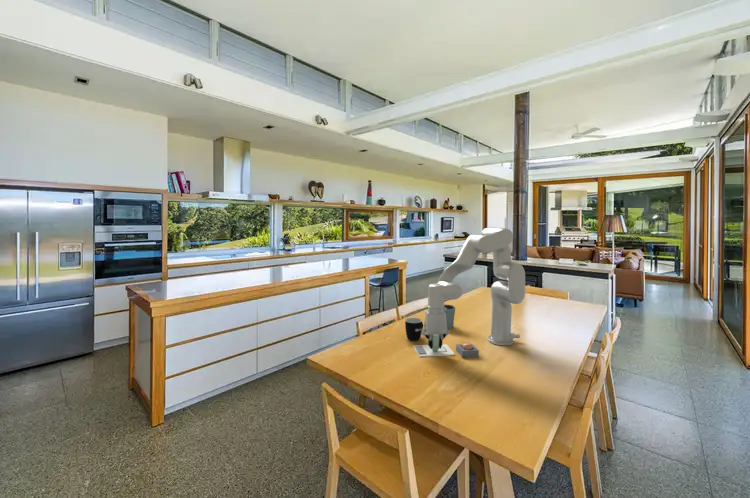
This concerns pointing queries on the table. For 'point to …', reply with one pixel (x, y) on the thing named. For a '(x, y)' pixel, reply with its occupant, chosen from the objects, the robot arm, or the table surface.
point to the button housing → (467, 351)
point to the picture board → (427, 352)
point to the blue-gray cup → (449, 315)
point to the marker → (435, 342)
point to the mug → (413, 328)
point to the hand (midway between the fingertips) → (435, 347)
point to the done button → (467, 346)
